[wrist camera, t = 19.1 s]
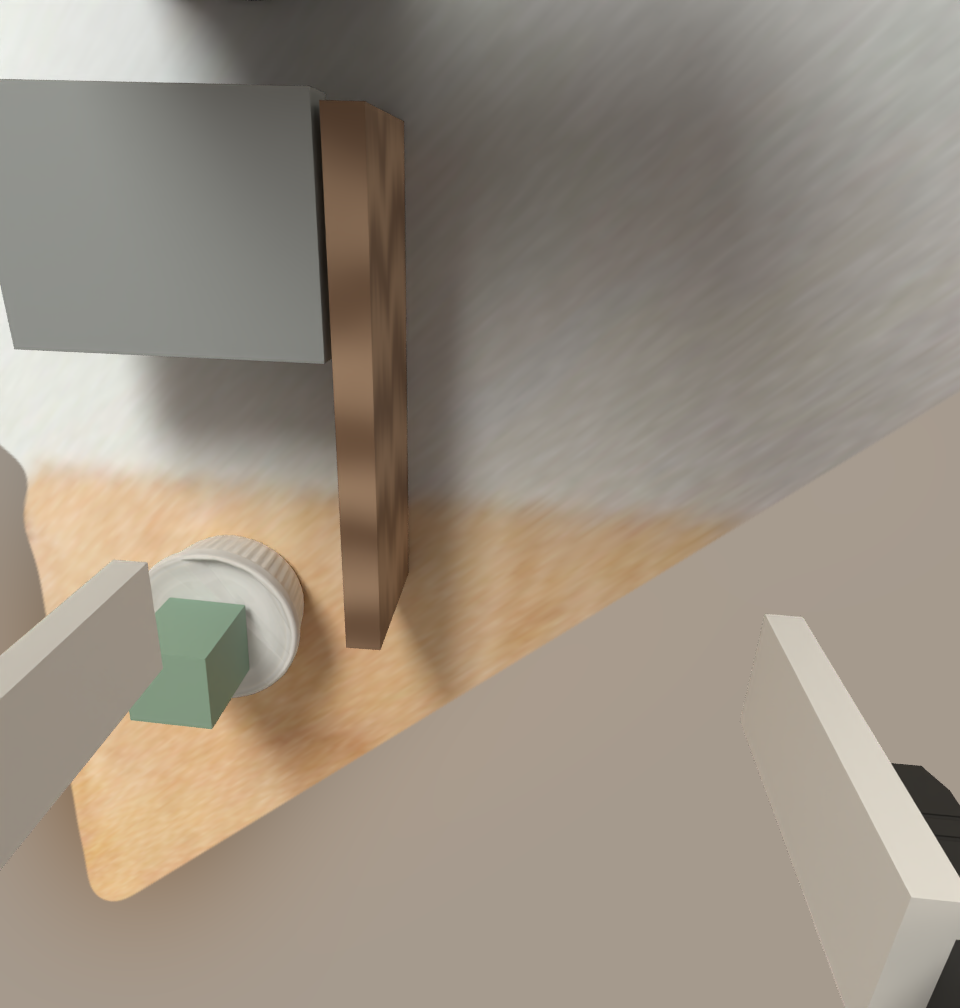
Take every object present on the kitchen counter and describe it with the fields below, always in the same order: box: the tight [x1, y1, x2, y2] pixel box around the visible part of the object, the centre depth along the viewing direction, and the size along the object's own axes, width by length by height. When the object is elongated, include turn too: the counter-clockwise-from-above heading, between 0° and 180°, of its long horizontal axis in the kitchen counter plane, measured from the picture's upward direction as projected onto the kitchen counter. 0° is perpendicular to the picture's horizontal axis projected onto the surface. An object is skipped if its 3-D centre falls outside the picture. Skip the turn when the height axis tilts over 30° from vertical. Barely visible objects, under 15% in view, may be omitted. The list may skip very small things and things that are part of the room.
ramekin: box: [149, 535, 304, 698], centre depth 51 cm, size 11×11×5 cm
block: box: [129, 597, 250, 729], centre depth 46 cm, size 5×5×6 cm
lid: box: [0, 79, 332, 364], centre depth 36 cm, size 12×16×2 cm
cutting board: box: [319, 100, 409, 650], centre depth 42 cm, size 28×2×10 cm, turn 178°
